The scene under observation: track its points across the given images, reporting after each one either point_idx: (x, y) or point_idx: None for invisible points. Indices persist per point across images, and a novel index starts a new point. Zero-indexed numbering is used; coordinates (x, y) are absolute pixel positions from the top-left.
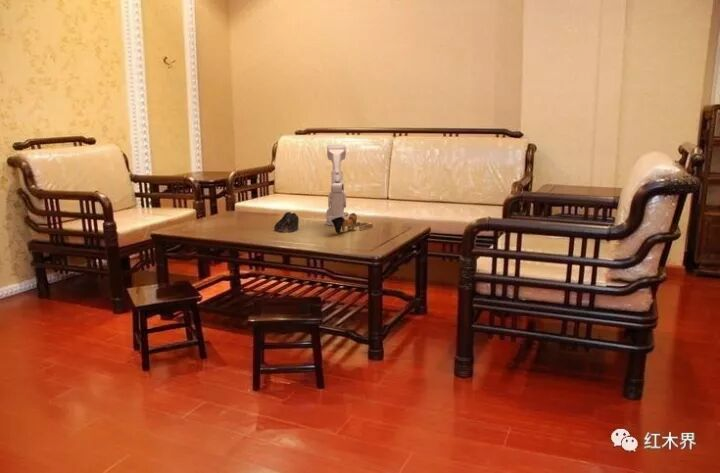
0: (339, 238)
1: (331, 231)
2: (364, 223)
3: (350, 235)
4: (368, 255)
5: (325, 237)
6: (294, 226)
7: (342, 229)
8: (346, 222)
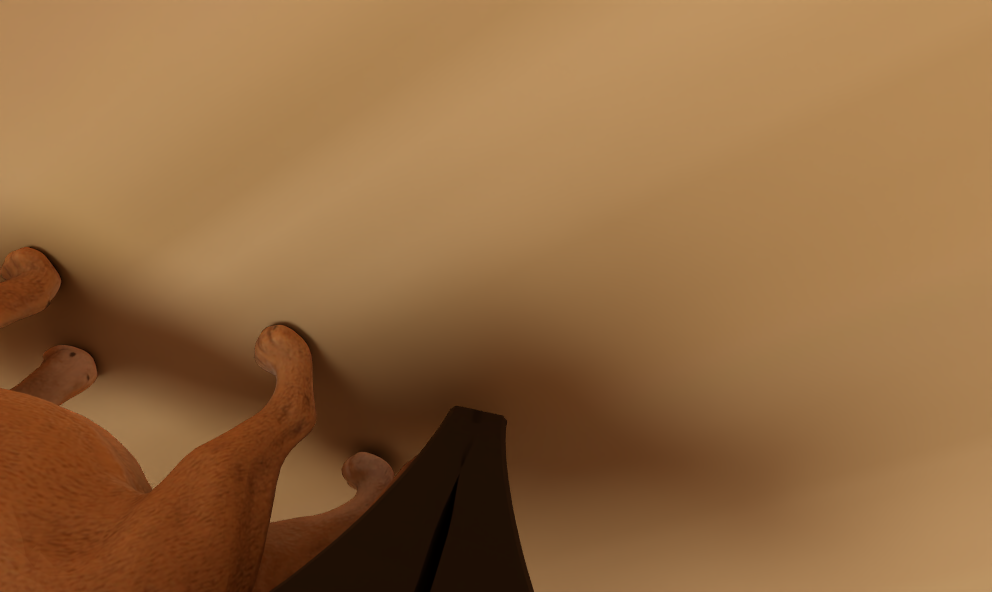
0: (926, 198)
1: None
2: None
3: (439, 94)
4: None
5: (881, 512)
6: None
7: (304, 434)
8: (45, 521)
